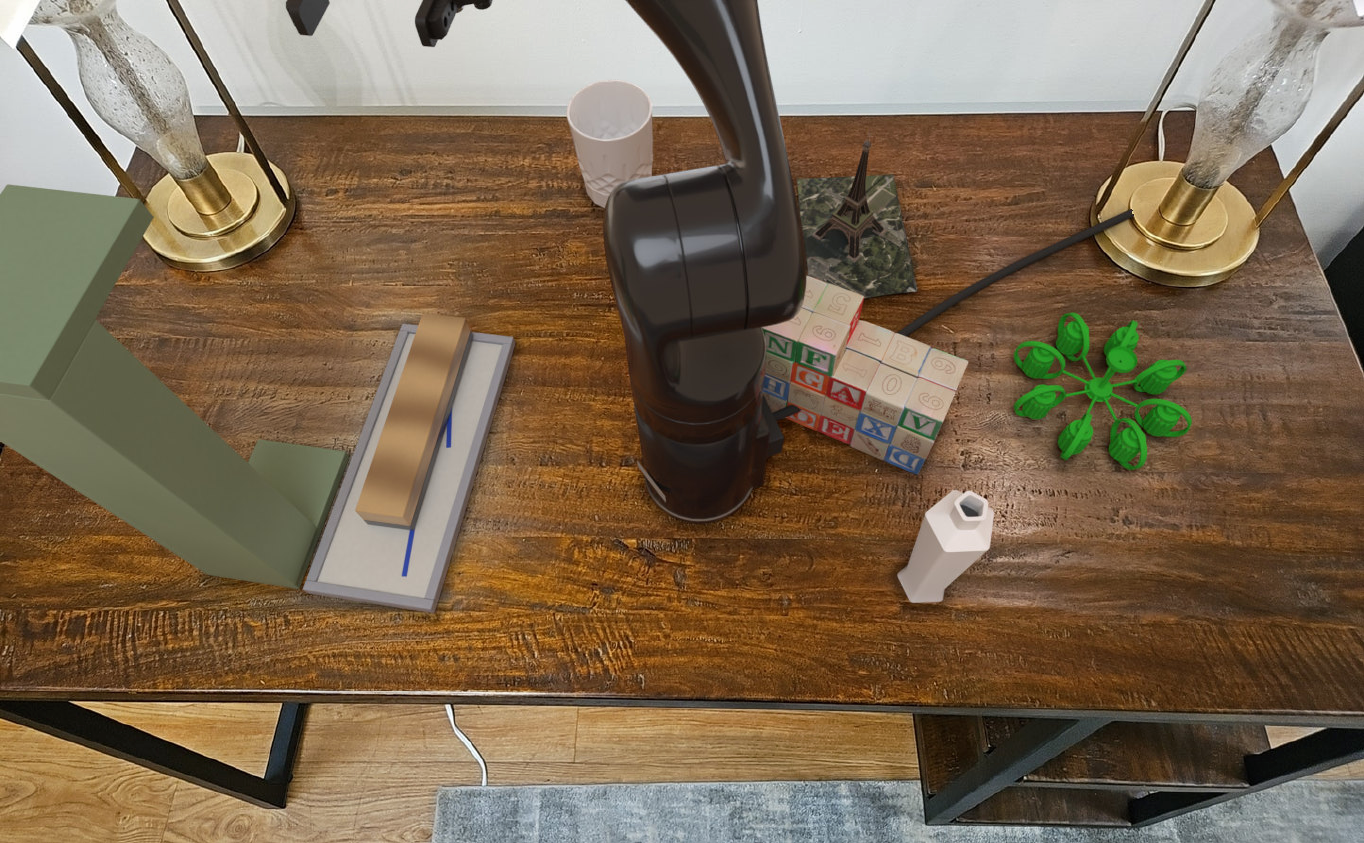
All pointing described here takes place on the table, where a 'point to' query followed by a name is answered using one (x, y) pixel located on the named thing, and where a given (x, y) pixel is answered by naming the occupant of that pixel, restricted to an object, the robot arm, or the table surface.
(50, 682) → the table surface
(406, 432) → the eraser
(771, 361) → the stack of blocks
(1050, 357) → the chandelier
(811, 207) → the eiffel tower figurine
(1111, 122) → the table surface
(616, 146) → the white cup
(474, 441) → the whiteboard
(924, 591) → the white faceted vase
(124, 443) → the green bent block
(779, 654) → the table surface
